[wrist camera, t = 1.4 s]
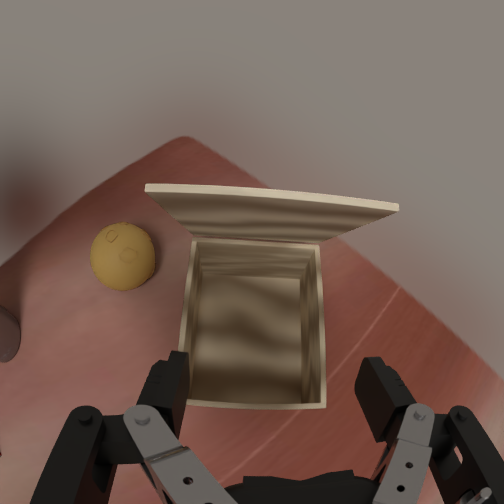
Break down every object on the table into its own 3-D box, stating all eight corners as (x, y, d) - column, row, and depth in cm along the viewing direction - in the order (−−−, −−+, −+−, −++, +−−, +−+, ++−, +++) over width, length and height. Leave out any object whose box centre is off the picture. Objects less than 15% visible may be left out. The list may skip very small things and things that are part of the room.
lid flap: (399, 211, 17) (398, 203, 17) (144, 191, 16) (145, 183, 17) (318, 243, 37) (318, 239, 37) (193, 235, 37) (193, 231, 37)
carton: (304, 407, 36) (326, 407, 28) (187, 403, 36) (173, 402, 27) (302, 277, 46) (318, 245, 37) (199, 271, 45) (192, 237, 37)
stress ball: (143, 310, 42) (121, 283, 33) (94, 286, 43) (66, 256, 34) (171, 255, 46) (159, 219, 38) (123, 236, 48) (104, 200, 39)
